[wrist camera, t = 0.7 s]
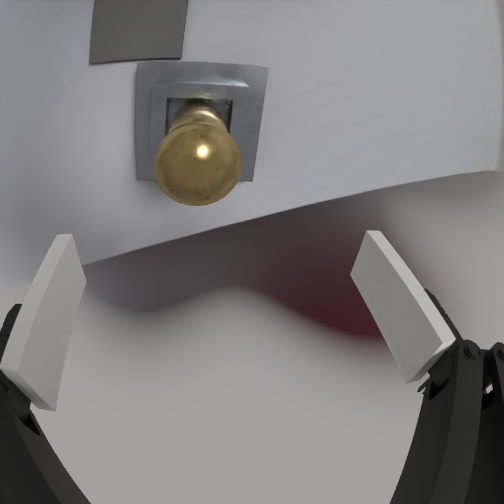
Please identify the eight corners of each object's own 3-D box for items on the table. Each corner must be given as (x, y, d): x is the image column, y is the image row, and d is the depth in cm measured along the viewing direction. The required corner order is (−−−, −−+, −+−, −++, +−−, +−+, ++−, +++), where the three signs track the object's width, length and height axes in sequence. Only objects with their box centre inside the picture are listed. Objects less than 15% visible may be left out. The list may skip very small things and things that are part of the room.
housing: (142, 62, 27) (131, 63, 23) (263, 67, 30) (275, 69, 25) (141, 170, 36) (132, 190, 31) (248, 172, 38) (256, 192, 34)
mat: (99, -18, 19) (98, -19, 19) (192, -25, 21) (192, -26, 21) (90, 63, 26) (89, 63, 25) (181, 57, 28) (181, 57, 27)
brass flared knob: (172, 96, 28) (153, 124, 17) (227, 98, 29) (246, 126, 18) (169, 147, 32) (154, 205, 21) (222, 148, 33) (237, 206, 22)
